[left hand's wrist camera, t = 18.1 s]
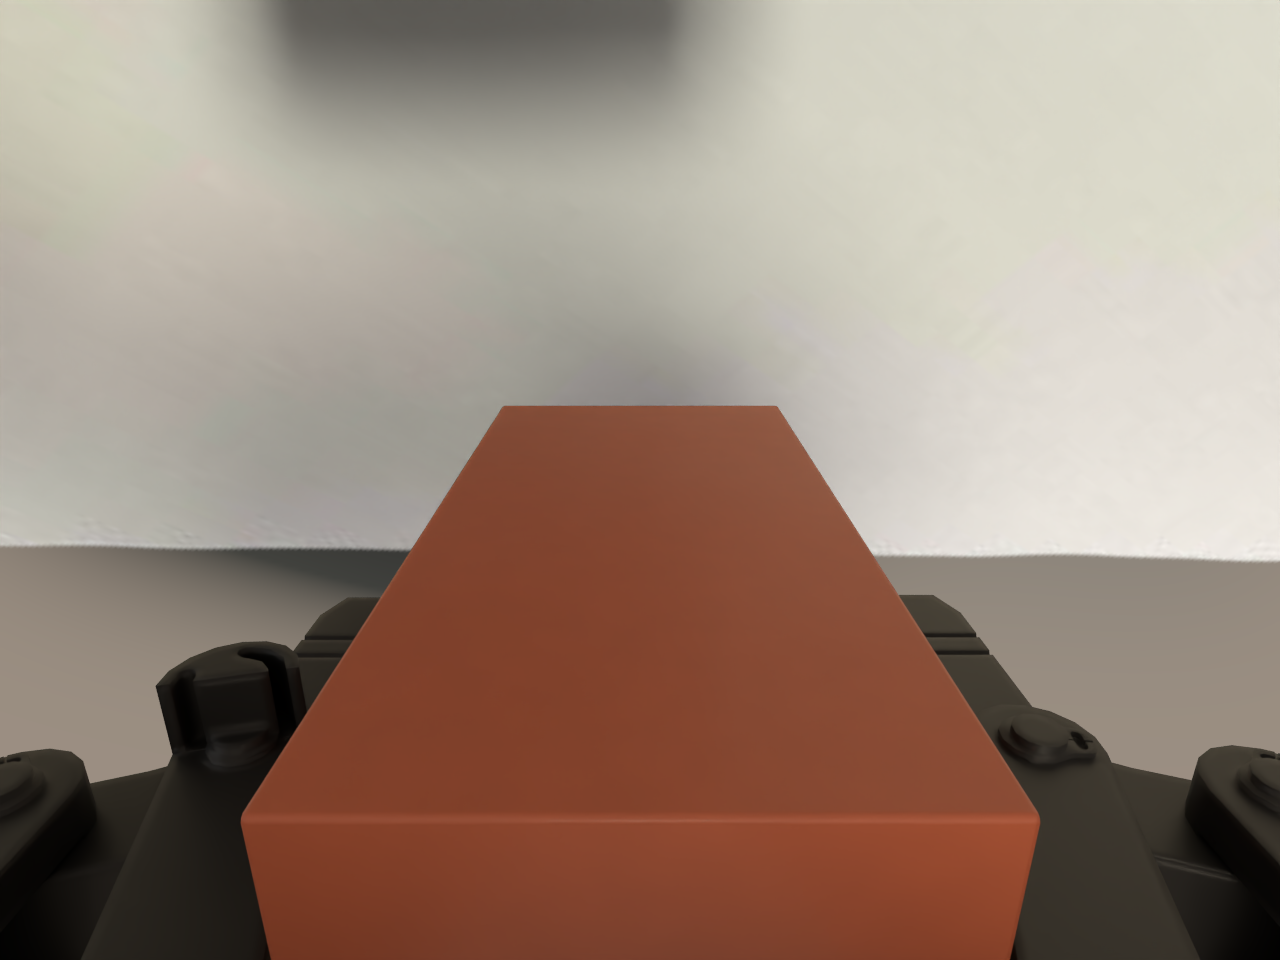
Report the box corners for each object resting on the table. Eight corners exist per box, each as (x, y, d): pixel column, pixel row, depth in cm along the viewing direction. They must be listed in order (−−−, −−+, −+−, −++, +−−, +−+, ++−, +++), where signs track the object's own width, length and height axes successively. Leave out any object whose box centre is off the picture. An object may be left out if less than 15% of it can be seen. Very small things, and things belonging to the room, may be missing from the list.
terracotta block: (517, 644, 16) (340, 1291, 7) (502, 405, 14) (234, 817, 5) (763, 644, 16) (938, 1290, 7) (777, 405, 14) (1045, 817, 5)
